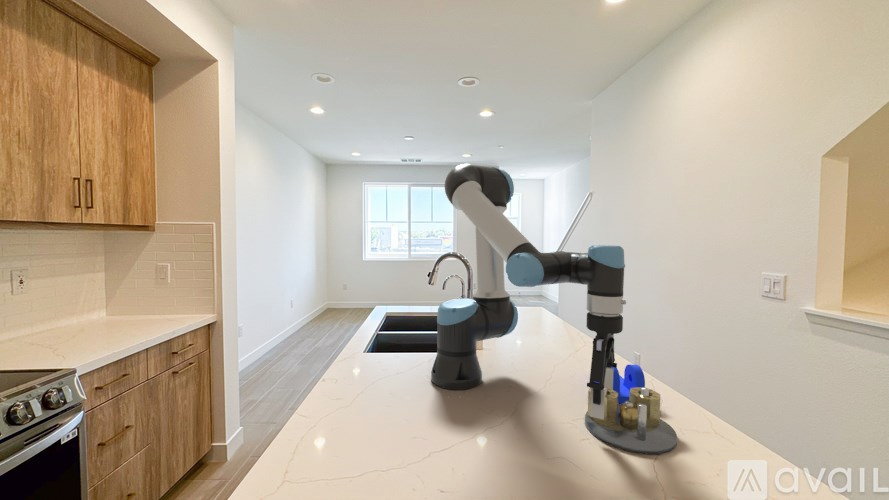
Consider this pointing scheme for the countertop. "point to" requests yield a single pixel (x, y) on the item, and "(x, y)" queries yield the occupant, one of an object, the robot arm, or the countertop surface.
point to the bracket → (627, 381)
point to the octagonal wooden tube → (607, 408)
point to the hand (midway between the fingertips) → (602, 404)
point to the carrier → (637, 425)
